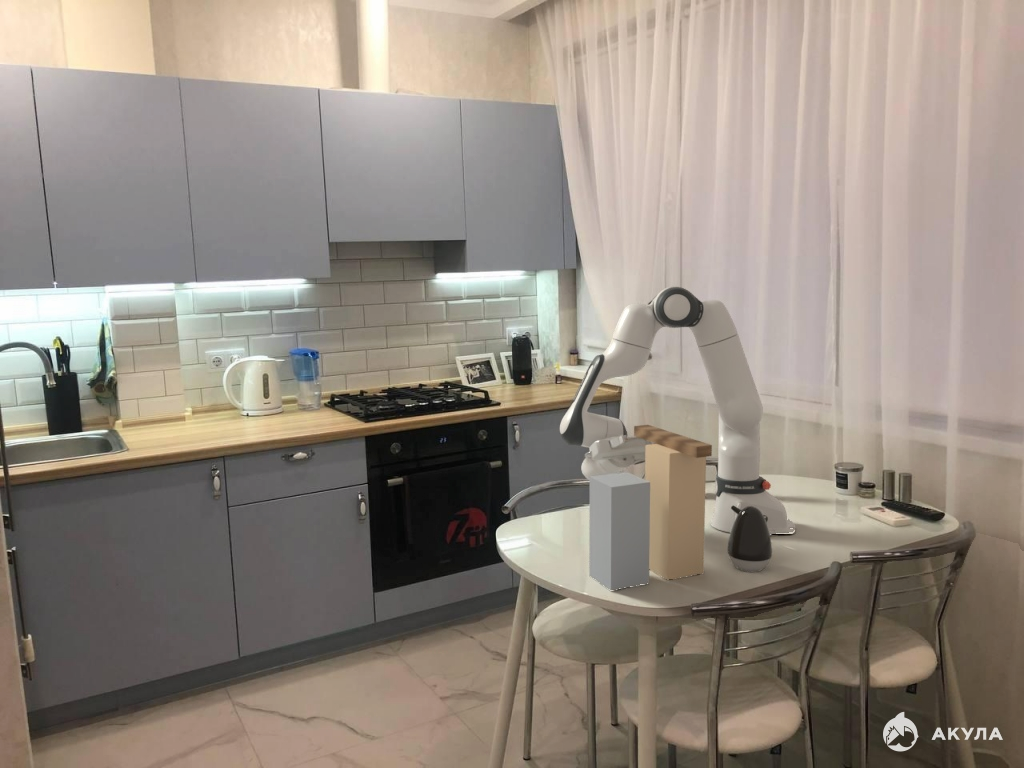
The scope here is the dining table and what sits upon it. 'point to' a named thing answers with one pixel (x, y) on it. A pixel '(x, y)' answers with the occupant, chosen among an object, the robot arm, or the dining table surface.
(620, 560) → the grey box
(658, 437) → the slat
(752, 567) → the pump dispenser
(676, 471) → the carton
